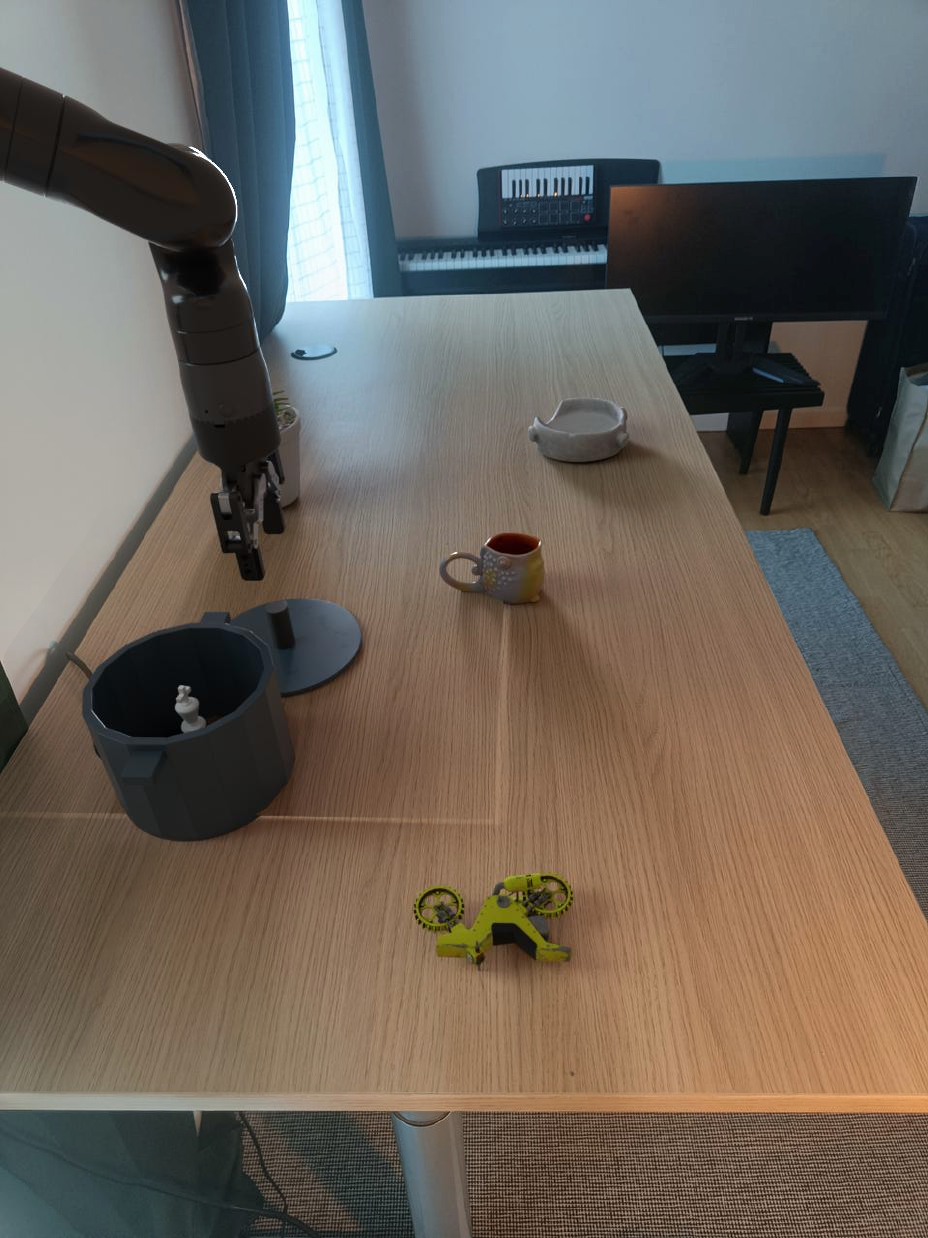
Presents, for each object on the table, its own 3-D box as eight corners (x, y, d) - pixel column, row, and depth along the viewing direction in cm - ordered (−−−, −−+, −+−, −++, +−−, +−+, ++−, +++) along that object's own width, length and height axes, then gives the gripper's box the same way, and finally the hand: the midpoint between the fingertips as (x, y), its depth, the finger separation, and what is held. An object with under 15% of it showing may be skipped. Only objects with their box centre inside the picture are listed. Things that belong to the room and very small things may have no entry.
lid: (187, 702, 88) (172, 656, 85) (232, 606, 101) (221, 563, 98) (348, 702, 87) (340, 657, 83) (373, 605, 100) (367, 562, 97)
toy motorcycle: (568, 856, 66) (587, 939, 60) (567, 886, 68) (585, 969, 63) (410, 874, 65) (415, 960, 60) (414, 904, 68) (419, 989, 62)
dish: (523, 461, 127) (522, 429, 124) (547, 422, 138) (547, 392, 135) (621, 471, 123) (623, 439, 120) (638, 430, 134) (640, 399, 131)
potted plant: (205, 493, 124) (170, 356, 113) (297, 469, 129) (272, 335, 117) (228, 532, 115) (192, 387, 103) (326, 504, 120) (302, 362, 108)
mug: (542, 572, 104) (542, 524, 100) (546, 606, 98) (547, 556, 94) (442, 577, 104) (438, 529, 100) (440, 610, 99) (436, 561, 95)
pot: (81, 865, 72) (32, 769, 65) (166, 696, 89) (135, 605, 82) (264, 869, 71) (234, 771, 64) (315, 697, 88) (296, 604, 81)
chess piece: (170, 785, 78) (140, 702, 72) (196, 747, 82) (169, 665, 76) (220, 793, 77) (193, 710, 71) (244, 754, 81) (220, 672, 75)
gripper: (212, 372, 83) (247, 519, 93) (161, 436, 72) (207, 596, 81) (289, 369, 83) (316, 518, 92) (250, 433, 71) (285, 595, 81)
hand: (265, 554), depth 87 cm, fingers open, 8 cm apart
